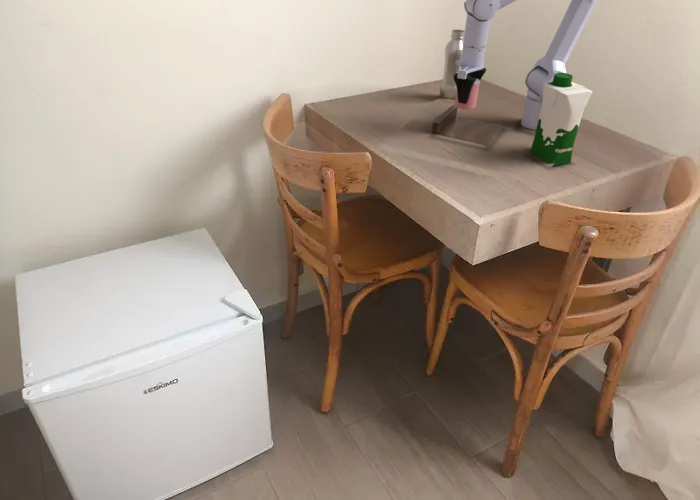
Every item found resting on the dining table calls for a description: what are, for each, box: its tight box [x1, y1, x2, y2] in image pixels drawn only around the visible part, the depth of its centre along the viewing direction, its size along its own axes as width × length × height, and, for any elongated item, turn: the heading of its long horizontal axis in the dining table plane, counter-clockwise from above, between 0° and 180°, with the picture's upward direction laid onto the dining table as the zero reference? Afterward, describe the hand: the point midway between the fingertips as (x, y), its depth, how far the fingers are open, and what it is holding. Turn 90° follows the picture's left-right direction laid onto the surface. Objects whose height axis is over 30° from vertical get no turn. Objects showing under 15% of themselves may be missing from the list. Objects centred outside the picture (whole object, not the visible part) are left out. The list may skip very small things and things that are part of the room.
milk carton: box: [529, 72, 593, 167], centre depth 126 cm, size 9×9×20 cm
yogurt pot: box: [454, 79, 481, 111], centre depth 139 cm, size 6×6×7 cm
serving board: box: [431, 104, 504, 147], centre depth 143 cm, size 15×15×4 cm
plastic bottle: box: [439, 29, 465, 101], centre depth 160 cm, size 6×7×20 cm
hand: (466, 99), depth 140 cm, fingers closed on yogurt pot, 5 cm apart
